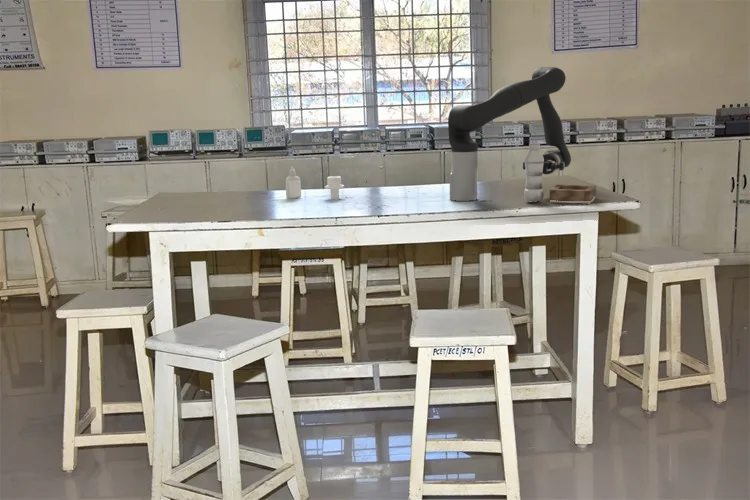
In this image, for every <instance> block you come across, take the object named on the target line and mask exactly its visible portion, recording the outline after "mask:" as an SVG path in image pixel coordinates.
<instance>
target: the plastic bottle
mask: <svg viewBox="0 0 750 500" xmlns="http://www.w3.org/2000/svg"><path fill="white" fill-rule="evenodd" d="M528 150H529V151H528V153H526V155H525V157H524V162H525V186H524V187H525V188H524V192H523V198H524V200H525V202H527V201H532V202H535V201H541V202H543V200H544V194H545V193H544V188H543V187H544V186H543V174H542V171H543V164H544V158H543V156H542V155H543V154H542V153H541V151H540V150H541V144H540V143H529V144H528Z"/></svg>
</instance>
